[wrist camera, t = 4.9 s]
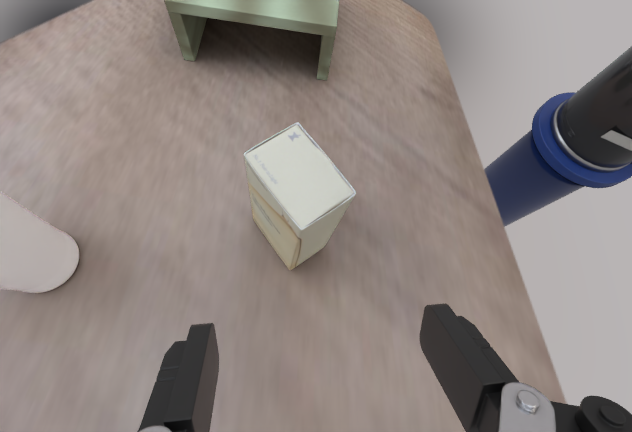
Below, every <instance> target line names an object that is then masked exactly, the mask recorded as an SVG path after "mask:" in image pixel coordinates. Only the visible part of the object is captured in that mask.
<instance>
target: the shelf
mask: <svg viewBox="0 0 632 432" xmlns="http://www.w3.org/2000/svg"><path fill="white" fill-rule="evenodd" d="M164 2H165V4H166V7H167V10H168V13H169V16H170V19H171V22H172V25H173V28H174V31H175V34H176V37H177V40H178V43H179V46H180V48H181V51H182V54H183V57H184V60H190V61H195V59H196V56H197V52H198V49H199V45H200V41H201V38H202V34H203V31H204V27H205V24H206V20H207V18H213V19H219V20H226V21H233V22H239V23H246V24H252V25H259V26H265V27H272V28H278V29H285V30H291V31H298V32H305V33H311V34H318V35H321V44H320V53H319V62H318V71H317V79H321V80H327V78H328V73H329V67H330V62H331V56H332V51H333V45H334V40H335V34H336V29H337V19H338V8H339V0H164Z"/></svg>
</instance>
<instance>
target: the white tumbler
mask: <svg viewBox="0 0 632 432" xmlns="http://www.w3.org/2000/svg"><path fill="white" fill-rule="evenodd" d="M78 262H79V249H78V246H77V244H76V242H75V240H74V239H73V238H72V237H71V236H70V235H68V234H67V233H65V232H63V231H61V230H59V229H57V228H55V227H54V226H52V225H51V224H49V223H47V222H46V221H44V220H43V219H41V218H40V217H38V216H37V215H35V214H34V213H32V212H31V211H29V210H28V209H26V208H25V207H23V206H22V205H21V204H19V203H18V202H16V201H15V200H13V199H12V198H10V197H9V196H7V195H6V194H4V193H3V192H1V191H0V289H6V290H16V291H21V292H27V293H42V292H46V291H50V290H52V289H55V288H57V287H59V286H60V285H62V284H63V283H64V282H66V281H67V280H68V279H69V278H70V277H71V275H72V274H73V273H74V271H75V269H76V267H77V265H78Z"/></svg>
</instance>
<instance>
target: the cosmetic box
mask: <svg viewBox="0 0 632 432" xmlns="http://www.w3.org/2000/svg"><path fill="white" fill-rule="evenodd" d="M244 159H245V165H246V172H247V179H248V185H249V192H250V199H251V207H252V214H253V220H254V221H255V223H256V224H257V226H258V227H259V229H260V230H261V232H262V233H263V234H264V236H265V237H266V239H267V240H268V242H269V243H270V244H271V246H272V247H273V249H274V250H275V251H276V253H277V254H278V255H279V257H280V258H281V259H282V261H283V262H284V264H285V265H286V266H287V268H288V269H289V270H292V269H294V268H295V267H297V266H298V265H299V264H301V263H302V262H304V261H305V260H307V259H308V258H310V257H311V256H312V255H314V254H315V253H317V252H318V251H319V250H321V249H322V248H323V247H325V245H326V244H327V242H328V240H329V239H330V237H331V235H332V234H333V232H334V230H335V228H336V227H337V225H338V223H339V222H340V220H341V218H342V216H343V215H344V213H345V211H346V210H347V208H348V206H349V205H350V203H351V201H352V200H353V198H354V196H355V195H356V191H355V190H354V188H353V187H352V186H351V185H350V183H349V182H348V181H347V180H346V178H345V177H344V176H343V175H342V174H341V172H340V171H339V170H338V169H337V167H336V166H335V165H334V164H333V162H332V161H331V160H330V159H329V157H328V156H327V155H326V154H325V153H324V152H323V150H322V149H321V148H320V147H319V146H318V145H317V143H316V142H315V141H314V140H313V139H312V138H311V136H310V135H309V134H308V133H307V132H306V131H305V130H304V128H303V127H302V126H301V125H300V124H299V123H298V122H297V123H295V124H293V125H292V126H290V127H288V128H286V129H284V130H282V131H280V132H279V133H277V134H275V135H273V136H272V137H270V138H268V139H266V140H264V141H263V142H261V143H259V144H258V145H256V146H254V147H253V148H251V149H249V150H248V151H246V152H245V153H244Z"/></svg>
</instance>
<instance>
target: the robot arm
mask: <svg viewBox="0 0 632 432" xmlns="http://www.w3.org/2000/svg"><path fill="white" fill-rule="evenodd" d="M550 125H551V132H552V135H553V137H554V140H555V141H556V143H557V145H558V146H559V148H560V149H561V150H562V151H563V152H564V154H565V155H566V156H568V157H569V158H570V159H571V160H572V161H574V162H575V163H577V164H578V165H580V166H582V167H584V168H586V169H589V170H592V171H596V172H604V173H605V172H614V171H617V170H619V169H621V168H623V167H625V166H627V165H629V164H632V47H630V48H629V49H628V50H627V51H626V52H624V53H623V54H622V55H621V56H620V57H618V58H617V59H616V60H615V61H614V62H613V63H611V64H610V65H609V66H608V67H606V68H605V69H604V70H603V71H602V72H600V73H599V74H598V75H597V76H596V77H594V79H592V80H591V81H590V82H588V83H587V84H586V85H585V86H583V87H582V88H581V89H580V90H579V91H578V92H576V93H575V94H574V95H573V96H572V97H570V98H569V99H567V100H566V101H564V102H563V103H562V104H561V105H559V106H558V107H557V108H556V109H555V110H554V112H553V114H552V116H551V122H550ZM420 344H421V348H422V351H423V353H424V355H425V356H426V358H427V360H428V362H429V364H430V366H431V368H432V369H433V371H434V373H435V375H436V377H437V379H438V381H439V382H440V384H441V386H442V388H443V390H444V392H445V394H446V395H447V397H448V399H449V401H450V403H451V405H452V407H453V408H454V410H455V412H456V414H457V416H458V418H459V420H460V421H461V423H462V425H463V427H464V429H465V431H466V432H632V415H631V414H630V413H629V412H628V411H627V410H626V409H624V408H623V407H622V406H620V405H618V404H617V403H615V402H613V401H611V400H609V399H606V398H603V397H599V396H587V397H585V398H584V399H583V400H582V402H581V404H580V406H574V405H568V404H563V403H557V402H552V401H549V400H548V399H547V398H546V397H545V396H544V395H543V394H542V393H541V392H540V391H538V390H537V389H535V388H533V387H531V386H529V385H527V384H524V383H520V382H519V381H518V380H517V379H516V377H515V376H514V375H513V374H512V372H511V371H510V370H509V369H508V367H507V366H506V365H505V364H504V362H503V361H502V360H501V358H500V357H499V356H498V355H497V353H496V352H495V351H494V350H493V348H492V347H490V344H489V343H488V342H487V341H486V339H485V338H483V336H482V334H481V333H480V332H479V331H478V329H477V328H476V327H475V325H473V324H472V323H471V322H469V321H468V320H467V319H465V318H464V317H462V316H456V315H455V313H454V312H453V311H452V309H451V308H450V307H449V306H448V305H447V304H435V305H427V306H426V307H425V309H424V314H423V320H422V325H421V331H420ZM218 372H219V353H218V347H217V340H216V334H215V327H214V324H213V323H208V324H197V325H191V327H190V330H189V333H188V337H187V341H177V342H175V343H174V344H173V345H172V346H171V348H170V349H169V350H168V351H167V352H166V354H165V356H164V359H163V362H162V365H161V367H160V371H159V373H158V376H157V381H156V382H155V385H154V388H153V391H152V394H151V396H150V399H149V402H148V405H147V408H146V411H145V414H144V417H143V420H142V423H141V425H140V428H139V430H138V432H209V431H210V424H211V418H212V411H213V405H214V398H215V391H216V385H217V378H218Z"/></svg>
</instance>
